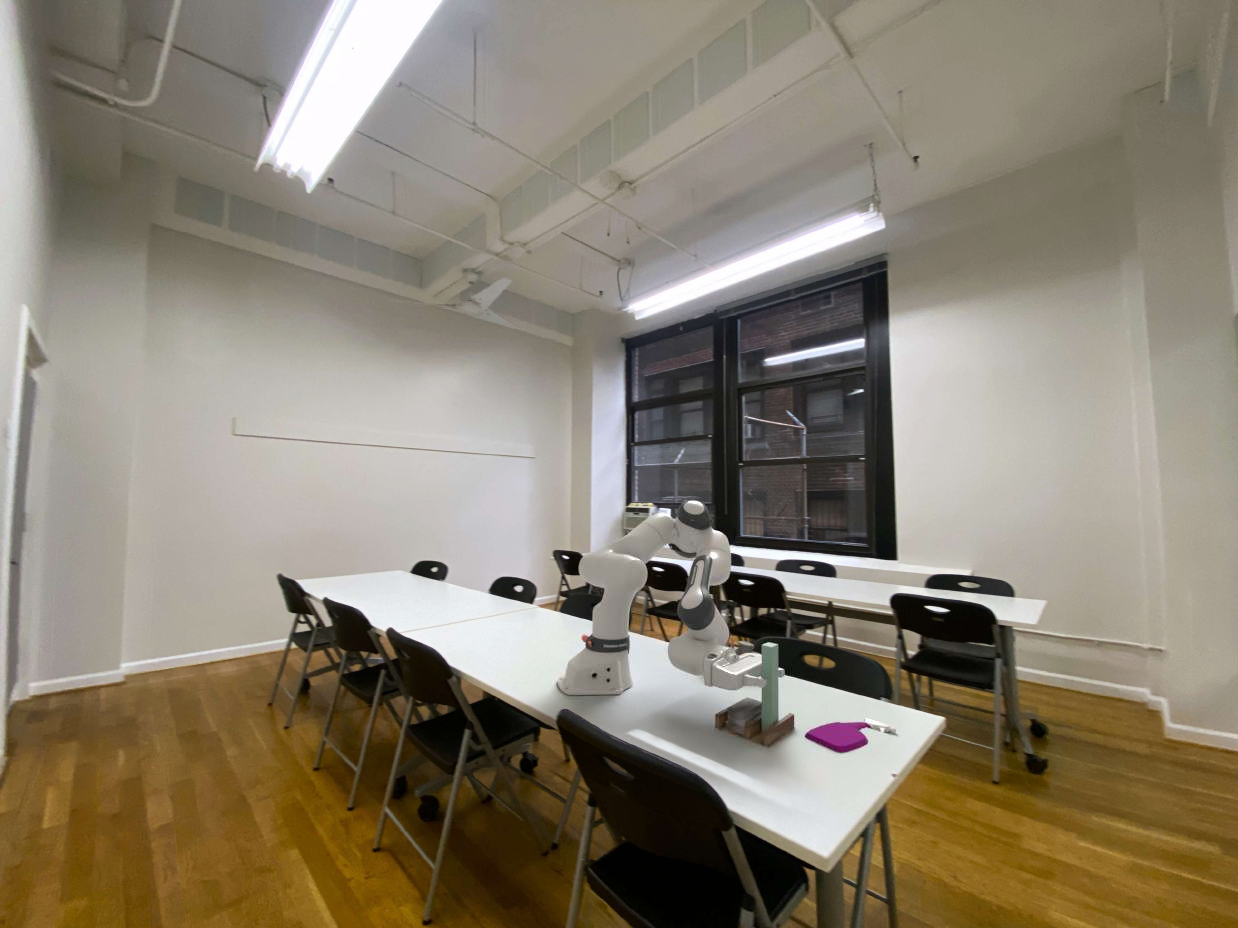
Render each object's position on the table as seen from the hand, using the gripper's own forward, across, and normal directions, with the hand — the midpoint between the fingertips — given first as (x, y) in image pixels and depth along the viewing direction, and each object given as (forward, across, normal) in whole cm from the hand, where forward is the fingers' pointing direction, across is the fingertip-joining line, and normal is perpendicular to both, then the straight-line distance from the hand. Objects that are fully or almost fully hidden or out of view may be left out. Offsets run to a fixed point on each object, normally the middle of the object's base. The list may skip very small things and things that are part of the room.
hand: (774, 678), depth 114 cm
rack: (-6, 0, -14) cm, 15 cm away
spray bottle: (+12, -14, -15) cm, 24 cm away
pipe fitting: (-27, -37, -14) cm, 48 cm away
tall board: (-1, 0, -12) cm, 13 cm away
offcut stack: (-7, 0, -12) cm, 14 cm away
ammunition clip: (-34, -31, -14) cm, 48 cm away
